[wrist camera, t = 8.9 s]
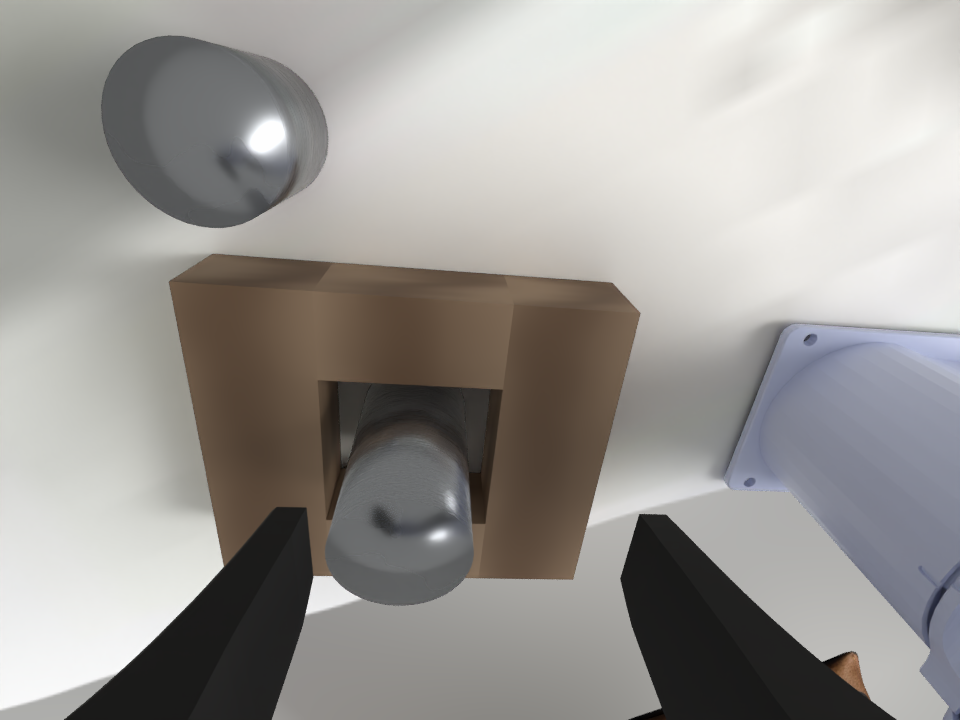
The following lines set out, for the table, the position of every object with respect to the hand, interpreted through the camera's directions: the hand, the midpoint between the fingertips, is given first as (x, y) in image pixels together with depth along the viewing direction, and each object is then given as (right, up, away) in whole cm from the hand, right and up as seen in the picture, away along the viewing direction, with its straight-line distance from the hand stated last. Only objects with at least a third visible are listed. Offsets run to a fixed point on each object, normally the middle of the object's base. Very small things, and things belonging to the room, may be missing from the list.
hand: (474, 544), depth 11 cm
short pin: (-7, +11, +4) cm, 14 cm away
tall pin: (-3, +2, +9) cm, 10 cm away
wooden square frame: (-3, +2, +9) cm, 10 cm away
